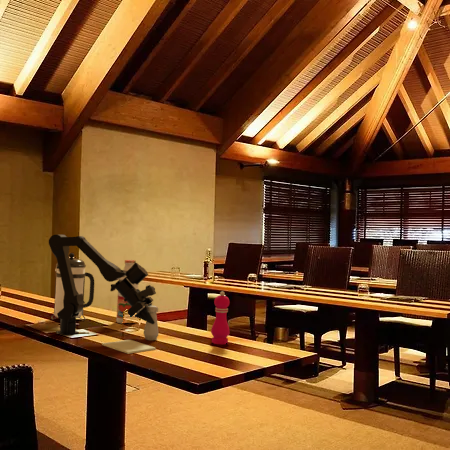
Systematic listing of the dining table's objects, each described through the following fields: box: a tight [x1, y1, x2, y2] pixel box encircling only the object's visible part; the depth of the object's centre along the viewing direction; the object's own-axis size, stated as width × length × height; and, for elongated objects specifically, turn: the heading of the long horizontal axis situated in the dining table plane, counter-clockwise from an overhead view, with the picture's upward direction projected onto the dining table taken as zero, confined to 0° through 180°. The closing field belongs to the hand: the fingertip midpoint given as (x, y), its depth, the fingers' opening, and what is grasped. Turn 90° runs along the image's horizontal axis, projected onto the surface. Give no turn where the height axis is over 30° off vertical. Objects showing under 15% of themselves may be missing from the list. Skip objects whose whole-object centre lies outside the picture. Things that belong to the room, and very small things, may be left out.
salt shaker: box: [143, 305, 159, 341], centre depth 210 cm, size 6×6×13 cm
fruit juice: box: [116, 259, 139, 325], centre depth 243 cm, size 9×9×28 cm
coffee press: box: [50, 252, 95, 322], centre depth 243 cm, size 17×16×30 cm
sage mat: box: [101, 339, 157, 355], centre depth 194 cm, size 16×12×1 cm
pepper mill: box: [210, 291, 231, 345], centre depth 210 cm, size 7×7×20 cm
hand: (155, 322), depth 210 cm, fingers open, 4 cm apart
